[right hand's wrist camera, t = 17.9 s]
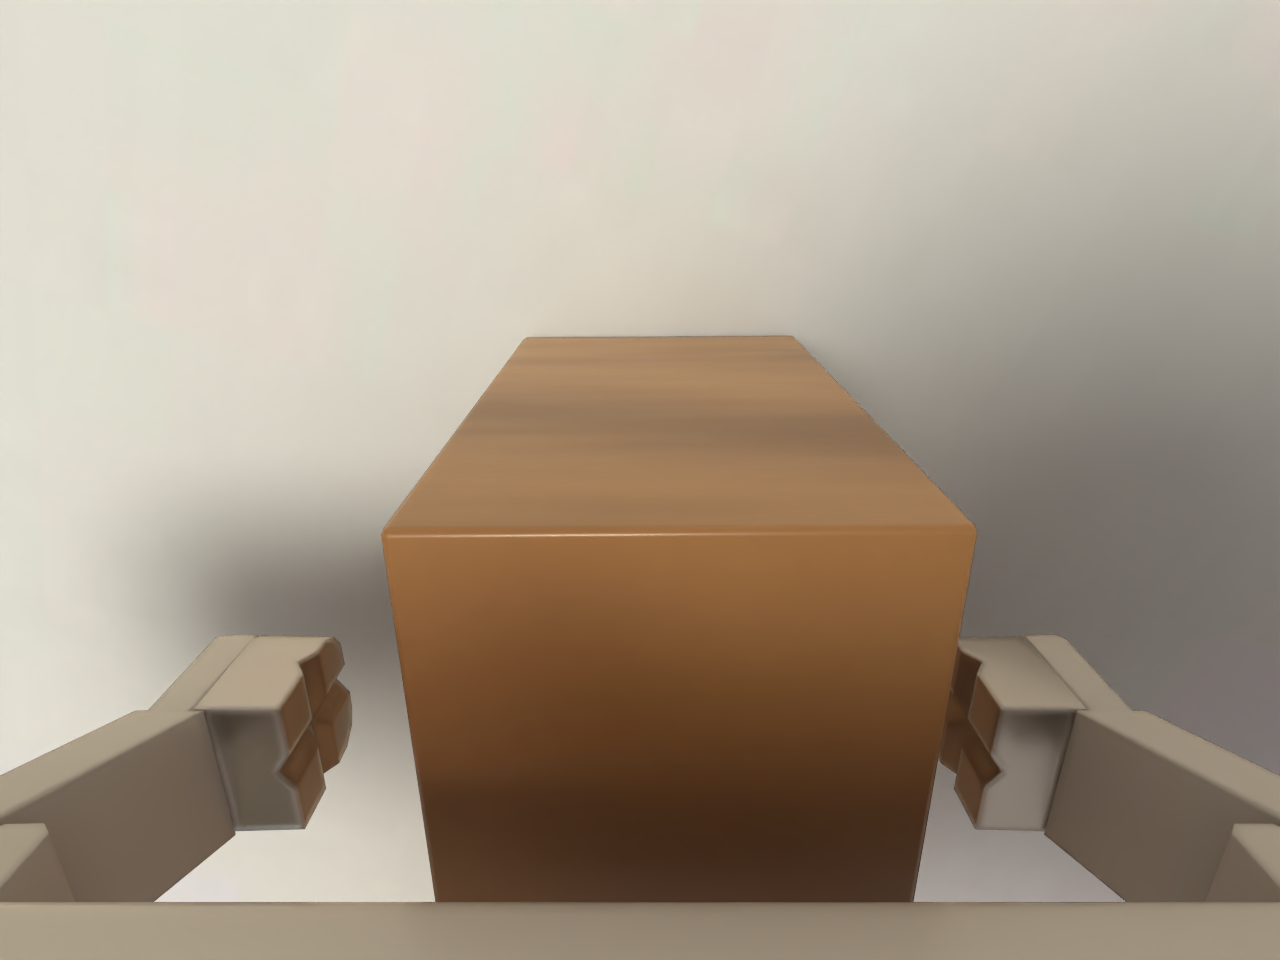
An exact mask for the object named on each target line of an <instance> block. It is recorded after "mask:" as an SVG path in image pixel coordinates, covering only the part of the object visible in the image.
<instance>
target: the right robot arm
mask: <svg viewBox="0 0 1280 960" xmlns="http://www.w3.org/2000/svg"><path fill="white" fill-rule="evenodd" d="M344 665H345V663H344V658H343V653H342V649H341V644H340V642H338V641H337V640H336V639H335V638H334V637H316V636H267V635H262V636H258V635H225V636H221V637H217V638H215V639H214V640H213V641H212V642H211V643H210V644H209V645H208V646H207V647H206V649H205V650H204V651H203V652H202V653H201V654H200V655H199V656H198V657H197V658H196V659H195V660H194V661H193V663H192V664H191V665H190V666H189V667H188V668H187V669H186V670H185V671H184V672H183V673H182V674H181V675H180V677H179V678H178V679H177V680H176V681H175V682H174V683H173V684H172V685H171V686H170V687H169V688H168V689H167V690H166V692H165V693H164V694H163V695H162V696H161V697H160V698H159V699H158V700H157V701H156V702H155V703H154V704H153V706H152V707H151V708H150V709H149V710H148V711H134V712H132V713H129V714H127V715H125V716H123V717H121V718H119V719H117V720H115V721H113V722H111V723H109V724H107V725H104V726H102V727H100V728H98V729H96V730H94V731H92V732H90V733H88V734H86V735H84V736H82V737H79V738H77V739H75V740H73V741H71V742H69V743H67V744H65V745H63V746H61V747H59V748H57V749H54V750H52V751H50V752H48V753H46V754H44V755H42V756H40V757H38V758H36V759H34V760H32V761H29V762H27V763H25V764H23V765H21V766H19V767H17V768H15V769H13V770H11V771H9V772H7V773H4V774H2V775H0V960H1280V776H1279V775H1277V774H1275V773H1273V772H1271V771H1269V770H1267V769H1265V768H1263V767H1261V766H1259V765H1256V764H1254V763H1252V762H1250V761H1248V760H1246V759H1244V758H1242V757H1240V756H1238V755H1236V754H1234V753H1232V752H1229V751H1227V750H1225V749H1223V748H1221V747H1219V746H1217V745H1215V744H1213V743H1211V742H1209V741H1207V740H1205V739H1202V738H1200V737H1198V736H1196V735H1194V734H1192V733H1190V732H1188V731H1186V730H1184V729H1182V728H1180V727H1178V726H1175V725H1173V724H1171V723H1169V722H1167V721H1165V720H1163V719H1161V718H1159V717H1157V716H1155V715H1153V714H1151V713H1148V712H1146V711H1132V710H1131V709H1130V708H1129V707H1128V705H1127V704H1126V703H1125V702H1124V701H1123V700H1122V699H1121V698H1120V697H1119V696H1118V695H1117V694H1116V693H1115V692H1114V690H1113V689H1112V688H1111V687H1110V686H1109V685H1108V684H1107V683H1106V682H1105V681H1104V680H1103V679H1102V678H1101V676H1100V675H1099V674H1098V673H1097V672H1096V671H1095V670H1094V669H1093V668H1092V667H1091V666H1090V665H1089V664H1088V662H1087V661H1086V660H1085V659H1084V658H1083V657H1082V656H1081V655H1080V654H1079V653H1078V652H1077V651H1076V650H1075V648H1074V647H1073V646H1072V645H1071V644H1070V643H1069V642H1068V641H1067V640H1066V639H1065V638H1062V637H1060V636H1058V635H1032V636H1018V637H968V638H959V641H958V646H957V652H956V658H955V664H954V669H953V675H952V681H951V687H950V693H949V698H948V704H947V710H946V716H945V721H944V727H943V733H942V739H941V744H940V750H939V756H938V758H939V760H940V762H941V763H942V764H943V765H945V766H946V767H948V768H949V769H951V770H952V771H954V772H955V773H956V774H957V775H956V780H955V786H954V789H955V791H956V793H957V795H958V797H959V799H960V801H961V803H962V805H963V807H964V809H965V810H966V812H967V814H968V816H969V818H970V820H971V822H972V824H973V826H974V828H975V829H987V830H1023V831H1045V833H1044V834H1045V835H1046V836H1047V837H1048V838H1049V839H1051V840H1052V841H1053V842H1054V843H1055V844H1057V845H1058V846H1059V847H1060V848H1062V849H1063V850H1064V851H1065V852H1066V853H1068V854H1069V855H1070V856H1071V857H1073V858H1074V859H1075V860H1076V861H1077V862H1079V863H1080V864H1081V865H1082V866H1083V867H1085V868H1086V869H1087V870H1088V871H1090V872H1091V873H1092V874H1093V875H1094V876H1096V877H1097V878H1098V879H1099V880H1101V881H1102V882H1103V883H1104V884H1105V885H1107V886H1108V887H1109V888H1110V889H1111V890H1113V891H1114V892H1115V893H1116V894H1118V895H1119V896H1120V897H1121V898H1122V899H1124V900H1125V901H1126V902H154V901H155V900H157V899H158V898H159V897H160V896H161V895H163V894H164V893H165V892H166V891H168V890H169V889H170V888H171V887H172V886H174V885H175V884H176V883H177V882H179V881H180V880H181V879H182V878H183V877H185V876H186V875H187V874H188V873H190V872H191V871H192V870H193V869H194V868H196V867H197V866H198V865H199V864H200V863H202V862H203V861H204V860H205V859H207V858H208V857H209V856H210V855H211V854H213V853H214V852H215V851H216V850H218V849H219V848H220V847H221V846H222V845H224V844H225V843H226V842H227V841H229V840H230V839H231V838H232V837H233V836H235V834H236V833H235V831H256V830H291V829H305V828H306V826H307V824H308V822H309V820H310V818H311V816H312V814H313V812H314V811H315V809H316V807H317V805H318V803H319V801H320V799H321V797H322V795H323V793H324V791H325V789H326V786H325V780H324V775H323V774H324V773H325V772H326V771H328V770H329V769H331V768H332V767H334V766H335V765H337V764H338V763H339V762H340V760H341V758H342V756H343V754H344V752H345V750H346V748H347V745H348V740H349V736H350V731H351V727H352V704H351V697H350V692H349V691H348V690H347V689H346V688H345V687H344V686H343V685H342V684H341V683H340V682H339V681H338V680H337V679H336V678H337V676H338V675H339V673H340V671H341V670H342V668H343V666H344Z"/></svg>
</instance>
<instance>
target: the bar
mask: <svg viewBox="0 0 1280 960" xmlns="http://www.w3.org/2000/svg"><path fill="white" fill-rule="evenodd" d="M381 537H382V544H383V551H384V557H385V564H386V571H387V578H388V584H389V591H390V598H391V605H392V611H393V618H394V625H395V632H396V638H397V645H398V652H399V659H400V665H401V672H402V679H403V686H404V692H405V699H406V706H407V713H408V719H409V726H410V733H411V740H412V746H413V753H414V760H415V767H416V773H417V780H418V787H419V794H420V801H421V807H422V814H423V821H424V828H425V834H426V841H427V848H428V855H429V861H430V868H431V875H432V882H433V888H434V895H435V902H913V900H914V894H915V889H916V883H917V877H918V871H919V866H920V860H921V854H922V848H923V843H924V837H925V831H926V825H927V819H928V814H929V808H930V802H931V796H932V791H933V785H934V779H935V773H936V768H937V762H938V756H939V750H940V744H941V739H942V733H943V727H944V721H945V716H946V710H947V704H948V698H949V693H950V687H951V681H952V675H953V669H954V664H955V658H956V652H957V646H958V641H959V635H960V629H961V623H962V618H963V612H964V606H965V600H966V594H967V589H968V583H969V577H970V571H971V566H972V560H973V554H974V548H975V543H976V537H977V530H976V527H975V525H974V524H973V523H972V522H971V521H970V520H969V519H968V518H967V517H966V516H965V515H964V513H963V512H962V511H961V510H960V509H959V508H958V507H957V506H956V505H955V504H954V503H953V502H952V501H951V500H950V499H949V498H948V497H947V496H946V495H945V494H944V493H943V492H942V491H941V490H940V489H939V488H938V486H937V485H936V484H935V483H934V482H933V481H932V480H931V479H930V478H929V477H928V476H927V475H926V474H925V473H924V472H923V471H922V470H921V469H920V468H919V467H918V466H917V465H916V464H915V463H914V462H913V461H912V460H911V458H910V457H909V456H908V455H907V454H906V453H905V452H904V451H903V450H902V449H901V448H900V447H899V446H898V445H897V444H896V443H895V442H894V441H893V440H892V439H891V438H890V437H889V436H888V435H887V434H886V433H885V431H884V430H883V429H882V428H881V427H880V426H879V425H878V424H877V423H876V422H875V421H874V420H873V419H872V418H871V417H870V416H869V415H868V414H867V413H866V412H865V411H864V410H863V409H862V408H861V407H860V406H859V404H858V403H857V402H856V401H855V400H854V399H853V398H852V397H851V396H850V395H849V394H848V393H847V392H846V391H845V390H844V389H843V388H842V387H841V386H840V385H839V384H838V383H837V382H836V381H835V380H834V379H833V378H832V376H831V375H830V374H829V373H828V372H827V371H826V370H825V369H824V368H823V367H822V366H821V365H820V364H819V363H818V362H817V361H816V360H815V359H814V358H813V357H812V356H811V355H810V354H809V353H808V352H807V351H806V349H805V348H804V347H803V346H802V345H801V344H800V343H799V342H798V341H797V340H796V339H795V338H794V337H792V336H717V337H575V338H526V339H524V340H523V341H522V343H521V344H520V345H519V347H518V348H517V349H516V351H515V352H514V353H513V355H512V356H511V357H510V359H509V360H508V361H507V363H506V364H505V365H504V367H503V368H502V369H501V371H500V372H499V374H498V375H497V376H496V378H495V379H494V380H493V382H492V383H491V384H490V386H489V387H488V388H487V390H486V391H485V392H484V394H483V395H482V396H481V398H480V399H479V400H478V402H477V403H476V404H475V406H474V407H473V409H472V410H471V411H470V413H469V414H468V415H467V417H466V418H465V419H464V421H463V422H462V423H461V425H460V426H459V427H458V429H457V430H456V431H455V433H454V434H453V435H452V437H451V438H450V440H449V441H448V442H447V444H446V445H445V446H444V448H443V449H442V450H441V452H440V453H439V454H438V456H437V457H436V458H435V460H434V461H433V462H432V464H431V465H430V466H429V468H428V469H427V470H426V472H425V473H424V475H423V476H422V477H421V479H420V480H419V481H418V483H417V484H416V485H415V487H414V488H413V489H412V491H411V492H410V493H409V495H408V496H407V497H406V499H405V500H404V501H403V503H402V504H401V506H400V507H399V508H398V510H397V511H396V512H395V514H394V515H393V516H392V518H391V519H390V520H389V522H388V523H387V524H386V526H385V527H384V528H383V531H382V534H381Z"/></svg>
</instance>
